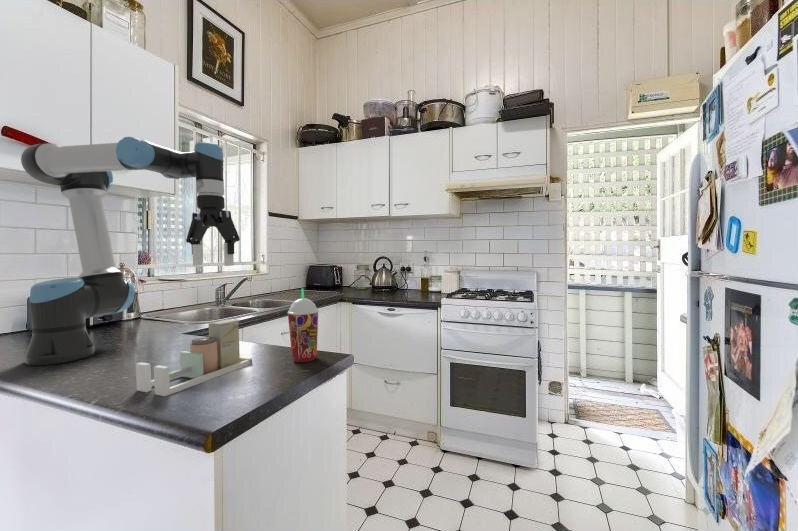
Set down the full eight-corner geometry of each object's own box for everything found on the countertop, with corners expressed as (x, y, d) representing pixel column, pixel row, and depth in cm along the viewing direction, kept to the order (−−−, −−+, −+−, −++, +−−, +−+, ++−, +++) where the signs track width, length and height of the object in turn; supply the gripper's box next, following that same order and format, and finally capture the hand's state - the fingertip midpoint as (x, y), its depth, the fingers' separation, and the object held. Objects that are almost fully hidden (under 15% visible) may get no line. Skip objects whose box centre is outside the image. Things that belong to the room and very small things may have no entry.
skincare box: (221, 371, 94) (219, 324, 94) (209, 369, 96) (207, 323, 95) (240, 364, 100) (239, 319, 99) (229, 362, 102) (227, 318, 101)
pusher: (147, 387, 82) (146, 361, 82) (184, 374, 91) (183, 350, 90) (166, 391, 80) (165, 364, 80) (203, 378, 88) (202, 353, 88)
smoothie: (315, 364, 99) (313, 289, 98) (284, 364, 99) (282, 290, 98) (322, 355, 107) (320, 286, 106) (294, 355, 107) (292, 287, 106)
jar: (185, 376, 91) (184, 341, 90) (207, 369, 96) (206, 335, 96) (202, 379, 88) (200, 343, 88) (223, 371, 94) (222, 337, 93)
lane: (136, 390, 82) (135, 363, 81) (226, 360, 104) (226, 338, 104) (164, 396, 78) (163, 368, 78) (252, 363, 100) (251, 341, 100)
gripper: (171, 197, 113) (174, 265, 114) (230, 190, 103) (232, 266, 104) (193, 200, 120) (196, 264, 121) (250, 194, 110) (253, 265, 111)
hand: (213, 265), depth 112 cm, fingers open, 13 cm apart
